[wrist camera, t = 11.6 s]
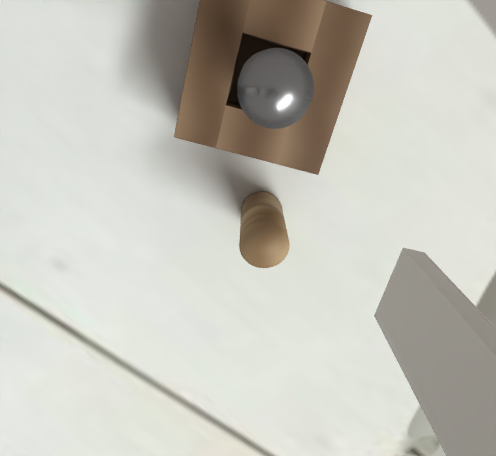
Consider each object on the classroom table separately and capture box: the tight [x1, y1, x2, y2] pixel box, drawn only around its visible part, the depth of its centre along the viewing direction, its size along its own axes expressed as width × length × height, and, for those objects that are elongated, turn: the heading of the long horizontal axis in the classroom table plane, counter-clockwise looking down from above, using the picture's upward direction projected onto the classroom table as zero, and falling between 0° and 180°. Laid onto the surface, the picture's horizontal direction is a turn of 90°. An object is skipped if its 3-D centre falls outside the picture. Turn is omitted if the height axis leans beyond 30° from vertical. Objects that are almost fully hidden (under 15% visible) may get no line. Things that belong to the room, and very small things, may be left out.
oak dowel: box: [239, 192, 289, 268], centre depth 36 cm, size 4×4×8 cm
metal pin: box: [237, 48, 314, 129], centre depth 27 cm, size 4×4×14 cm
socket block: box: [174, 0, 372, 175], centre depth 32 cm, size 12×12×5 cm
